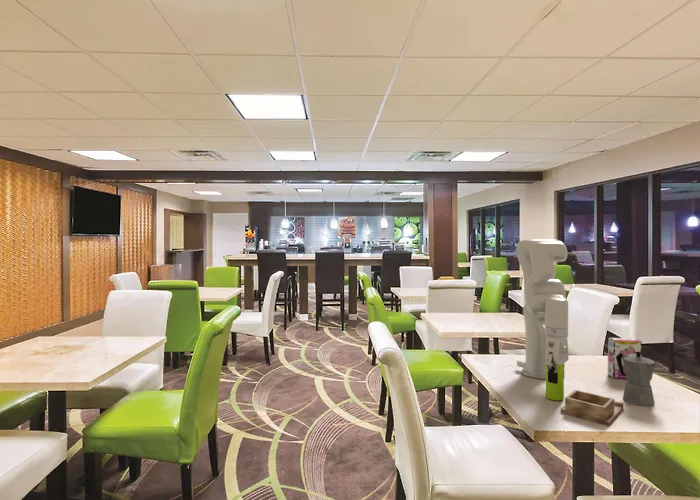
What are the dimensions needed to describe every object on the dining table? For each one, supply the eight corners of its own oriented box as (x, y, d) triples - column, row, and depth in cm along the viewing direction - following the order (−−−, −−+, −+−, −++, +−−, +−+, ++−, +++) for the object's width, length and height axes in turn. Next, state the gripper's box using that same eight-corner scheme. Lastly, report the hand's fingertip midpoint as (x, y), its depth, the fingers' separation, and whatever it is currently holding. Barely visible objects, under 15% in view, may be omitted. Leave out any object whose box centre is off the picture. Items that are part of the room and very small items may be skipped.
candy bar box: (613, 378, 165) (613, 340, 165) (607, 375, 170) (607, 337, 170) (642, 379, 164) (642, 340, 164) (634, 375, 169) (634, 337, 169)
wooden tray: (560, 412, 132) (560, 397, 132) (578, 398, 144) (578, 384, 144) (609, 426, 122) (609, 409, 122) (623, 409, 134) (623, 394, 134)
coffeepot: (667, 407, 136) (667, 355, 136) (645, 410, 134) (645, 357, 134) (626, 391, 151) (626, 344, 151) (606, 393, 149) (606, 346, 149)
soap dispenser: (559, 402, 139) (559, 347, 139) (542, 396, 146) (542, 342, 145) (570, 399, 142) (570, 344, 142) (552, 393, 148) (552, 340, 148)
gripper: (558, 337, 135) (558, 389, 135) (575, 329, 146) (575, 377, 147) (536, 333, 140) (536, 383, 141) (554, 326, 152) (553, 372, 152)
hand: (556, 379), depth 144 cm, fingers closed on soap dispenser, 5 cm apart
